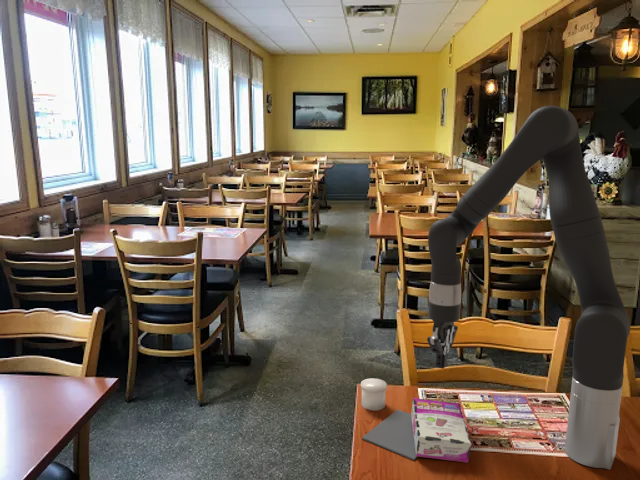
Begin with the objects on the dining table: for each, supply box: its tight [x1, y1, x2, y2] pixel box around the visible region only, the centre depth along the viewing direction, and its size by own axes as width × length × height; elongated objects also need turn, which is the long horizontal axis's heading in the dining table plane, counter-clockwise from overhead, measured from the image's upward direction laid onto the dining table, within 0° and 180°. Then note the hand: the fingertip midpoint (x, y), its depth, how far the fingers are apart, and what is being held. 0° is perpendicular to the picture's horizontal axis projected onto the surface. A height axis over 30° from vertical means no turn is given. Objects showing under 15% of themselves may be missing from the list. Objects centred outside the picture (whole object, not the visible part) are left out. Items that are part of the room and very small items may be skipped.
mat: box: [361, 409, 419, 461], centre depth 119 cm, size 13×16×1 cm
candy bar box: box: [410, 397, 472, 463], centre depth 116 cm, size 11×5×16 cm
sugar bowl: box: [360, 377, 388, 411], centre depth 132 cm, size 7×7×6 cm
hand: (441, 366), depth 129 cm, fingers closed
